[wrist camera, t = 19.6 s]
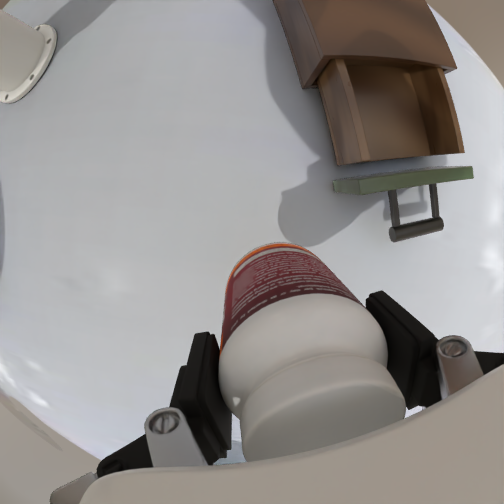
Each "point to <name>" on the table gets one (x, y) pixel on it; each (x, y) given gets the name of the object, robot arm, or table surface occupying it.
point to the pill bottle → (301, 356)
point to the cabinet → (361, 33)
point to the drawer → (392, 129)
